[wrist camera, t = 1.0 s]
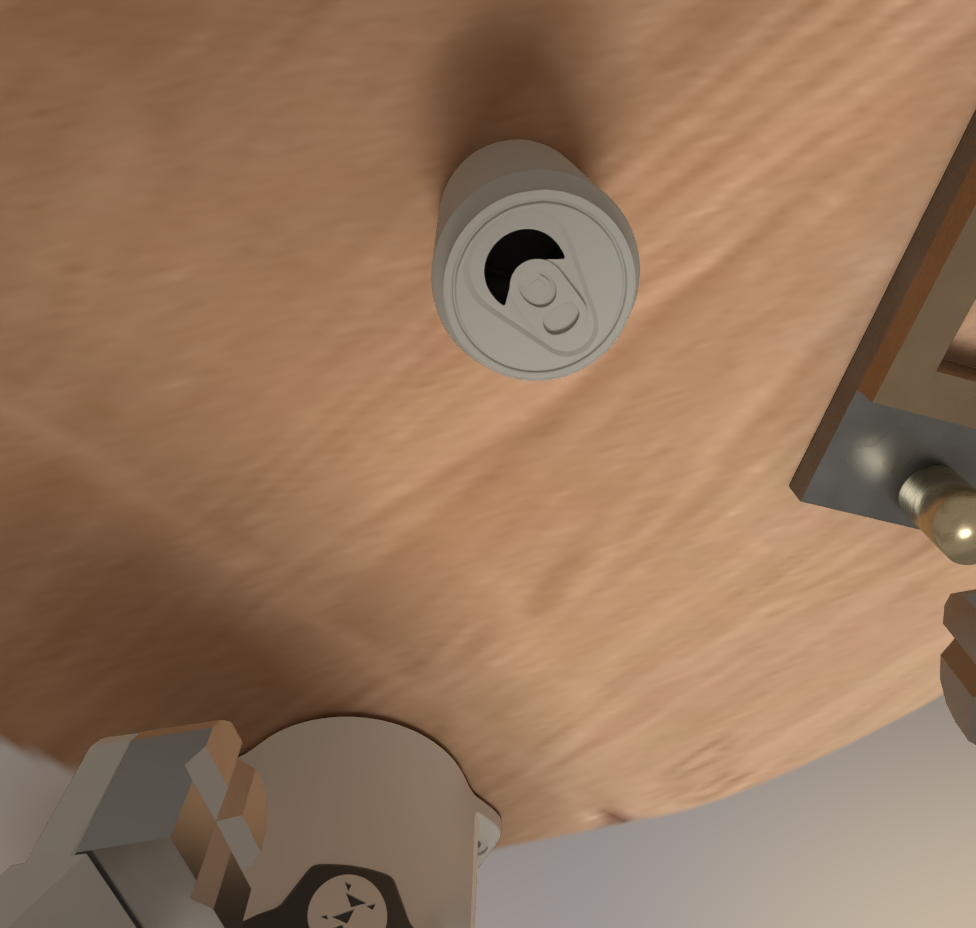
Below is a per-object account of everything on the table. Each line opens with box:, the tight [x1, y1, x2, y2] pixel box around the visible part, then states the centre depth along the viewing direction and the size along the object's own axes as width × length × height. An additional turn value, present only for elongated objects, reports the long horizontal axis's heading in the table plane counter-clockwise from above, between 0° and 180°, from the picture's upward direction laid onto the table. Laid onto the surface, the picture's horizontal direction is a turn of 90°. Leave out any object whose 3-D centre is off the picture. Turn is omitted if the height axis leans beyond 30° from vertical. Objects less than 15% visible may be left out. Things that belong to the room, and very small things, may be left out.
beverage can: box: [432, 139, 640, 381], centre depth 28 cm, size 6×6×12 cm
